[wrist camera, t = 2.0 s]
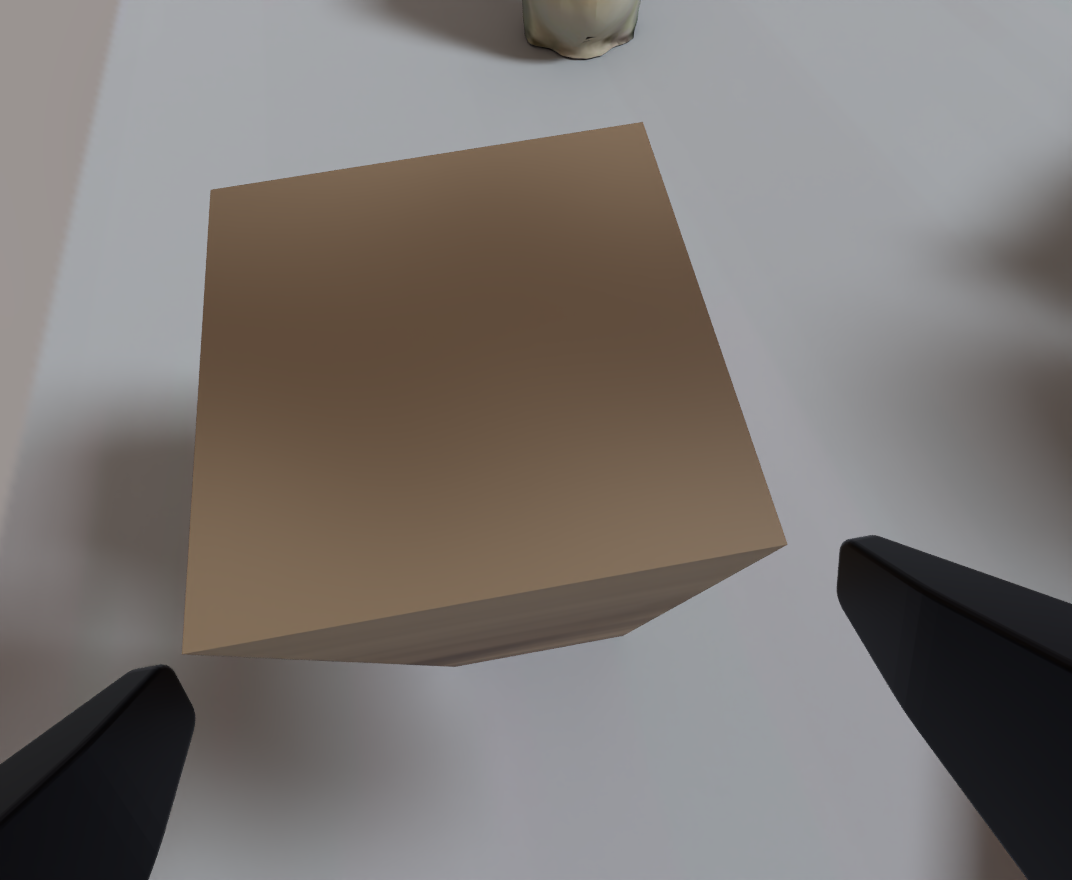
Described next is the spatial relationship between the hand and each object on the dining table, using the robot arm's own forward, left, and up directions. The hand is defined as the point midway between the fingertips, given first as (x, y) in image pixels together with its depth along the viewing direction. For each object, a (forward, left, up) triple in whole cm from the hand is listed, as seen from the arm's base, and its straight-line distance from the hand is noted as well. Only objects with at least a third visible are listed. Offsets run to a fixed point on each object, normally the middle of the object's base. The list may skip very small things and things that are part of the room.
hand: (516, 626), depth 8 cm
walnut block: (+2, +1, -10) cm, 10 cm away
